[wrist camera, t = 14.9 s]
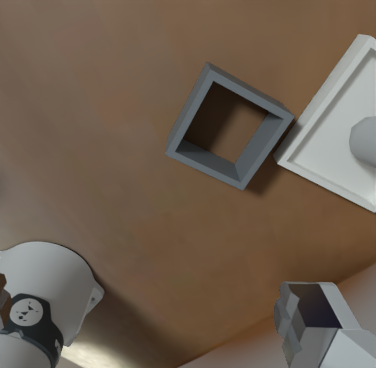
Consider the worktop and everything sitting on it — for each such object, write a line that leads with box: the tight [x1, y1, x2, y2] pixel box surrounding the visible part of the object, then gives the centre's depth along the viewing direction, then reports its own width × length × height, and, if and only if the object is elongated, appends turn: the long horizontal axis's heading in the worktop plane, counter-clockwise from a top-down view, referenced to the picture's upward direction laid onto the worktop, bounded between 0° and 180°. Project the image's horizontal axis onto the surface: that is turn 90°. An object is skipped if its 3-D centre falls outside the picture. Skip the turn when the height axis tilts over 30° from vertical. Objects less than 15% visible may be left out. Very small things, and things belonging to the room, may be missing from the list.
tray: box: [272, 34, 376, 213], centre depth 38 cm, size 16×16×2 cm
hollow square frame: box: [165, 62, 295, 190], centre depth 36 cm, size 10×10×5 cm
